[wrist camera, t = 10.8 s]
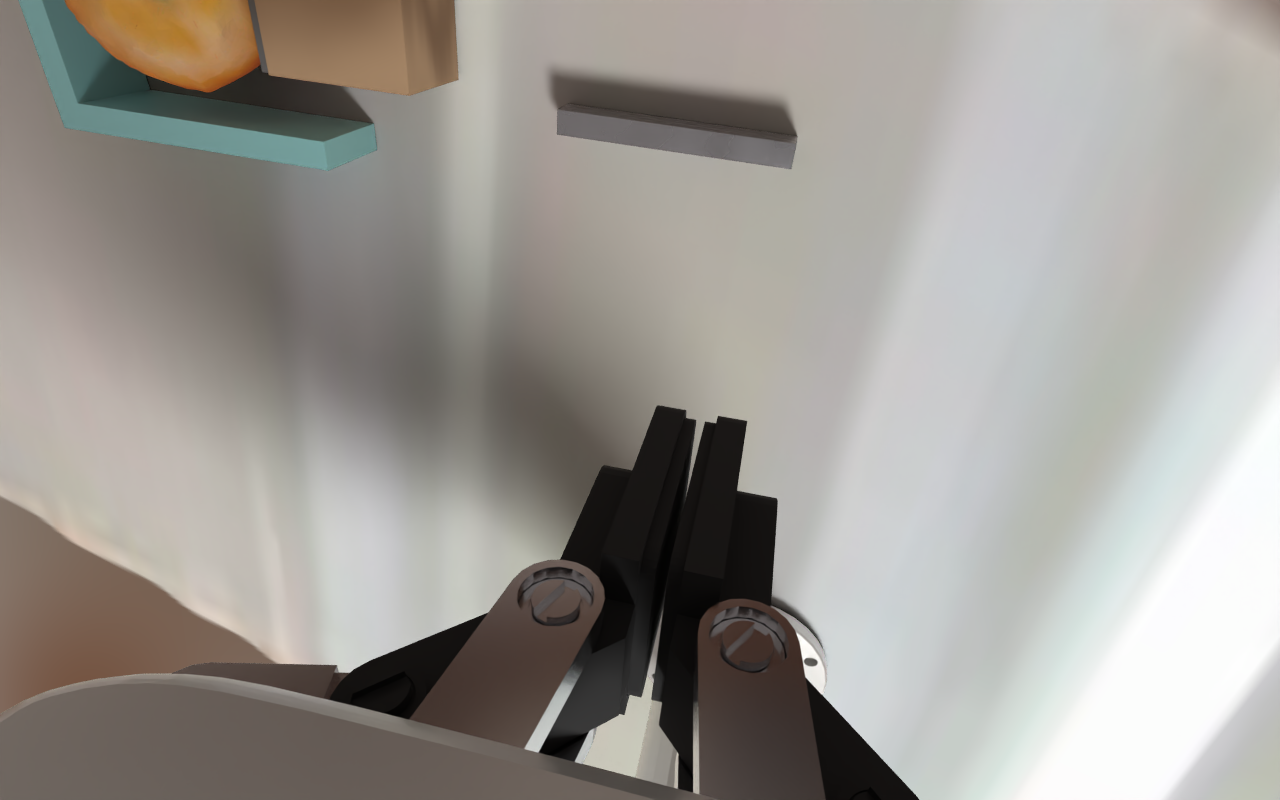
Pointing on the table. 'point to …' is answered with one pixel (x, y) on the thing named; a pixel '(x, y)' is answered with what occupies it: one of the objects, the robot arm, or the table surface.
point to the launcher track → (677, 135)
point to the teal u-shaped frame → (176, 104)
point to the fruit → (175, 38)
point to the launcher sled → (358, 42)
